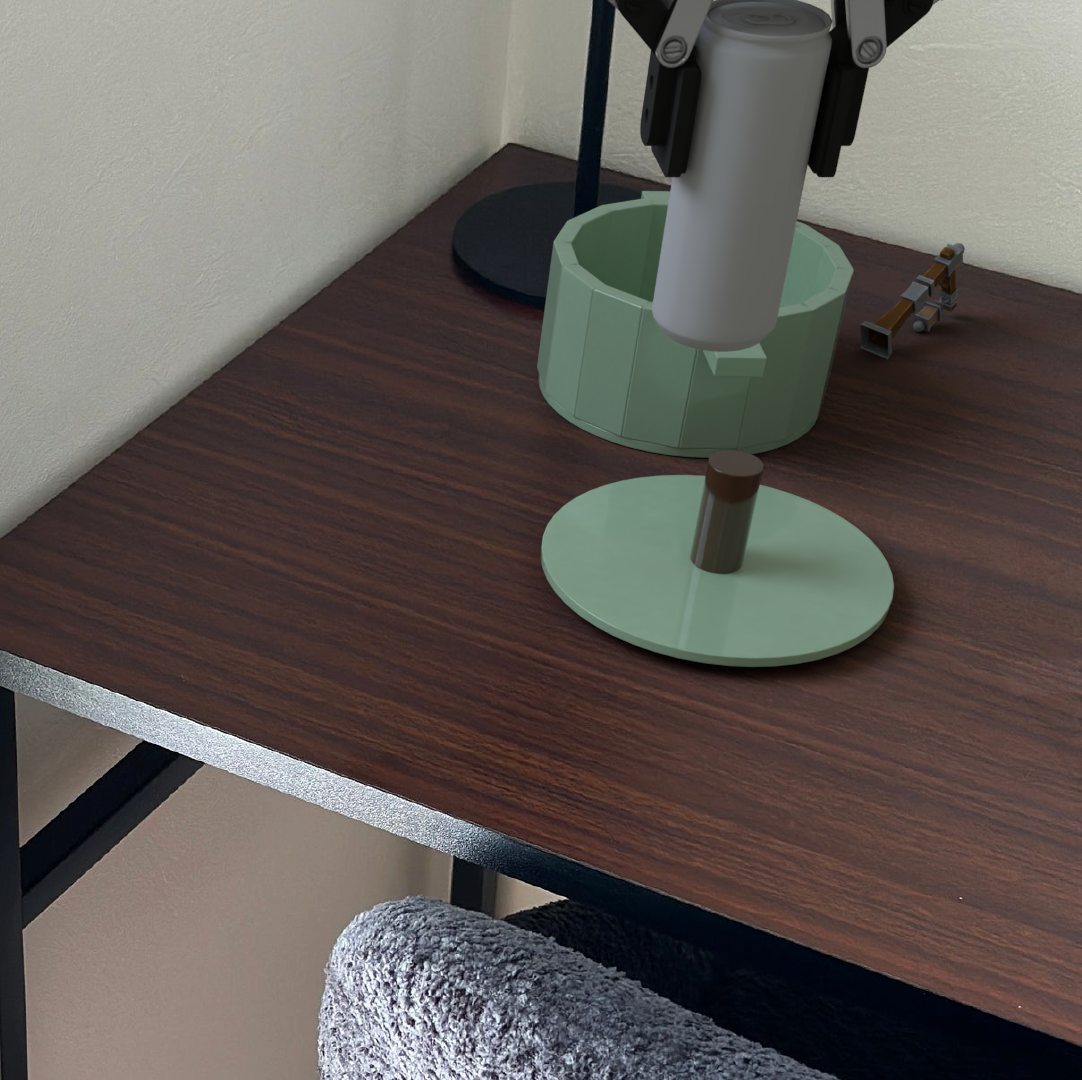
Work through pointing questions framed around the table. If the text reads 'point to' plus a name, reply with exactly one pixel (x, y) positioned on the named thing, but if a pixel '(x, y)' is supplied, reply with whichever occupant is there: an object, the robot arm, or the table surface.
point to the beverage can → (742, 173)
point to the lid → (717, 568)
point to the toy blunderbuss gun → (917, 303)
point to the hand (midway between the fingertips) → (741, 158)
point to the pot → (672, 368)
